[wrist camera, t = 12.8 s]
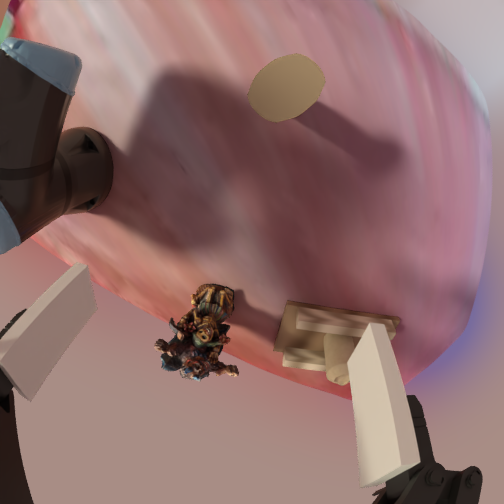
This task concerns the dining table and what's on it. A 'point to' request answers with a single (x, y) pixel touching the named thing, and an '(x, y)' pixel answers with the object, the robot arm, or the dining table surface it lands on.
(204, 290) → the figurine
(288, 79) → the handle
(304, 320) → the rack
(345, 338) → the candle
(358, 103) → the dining table surface
